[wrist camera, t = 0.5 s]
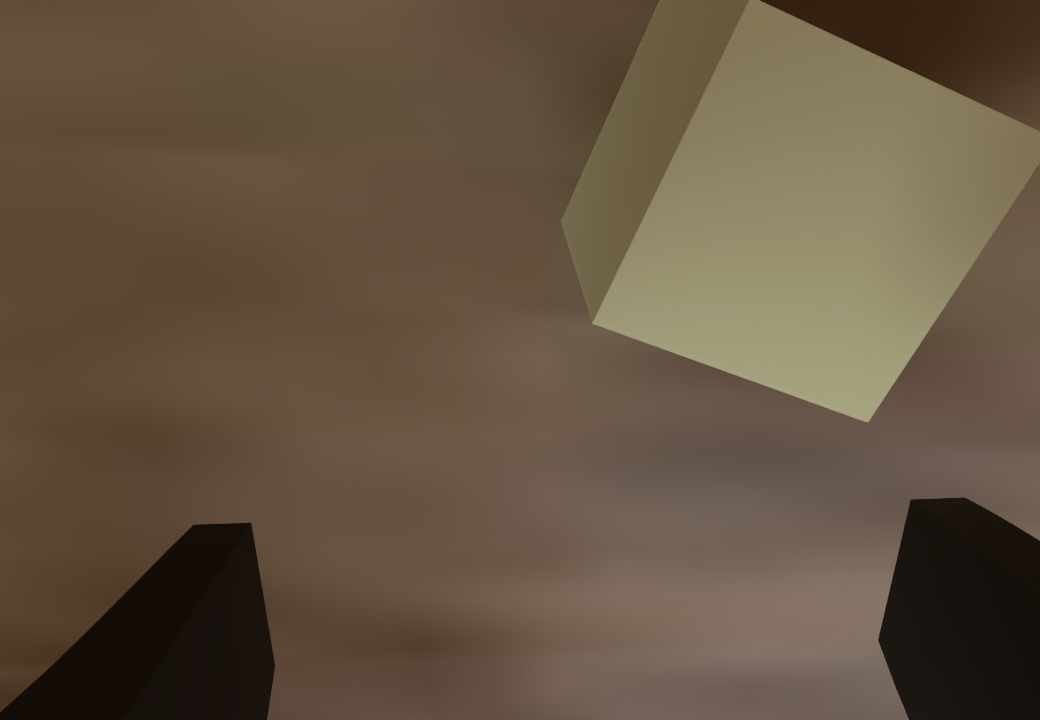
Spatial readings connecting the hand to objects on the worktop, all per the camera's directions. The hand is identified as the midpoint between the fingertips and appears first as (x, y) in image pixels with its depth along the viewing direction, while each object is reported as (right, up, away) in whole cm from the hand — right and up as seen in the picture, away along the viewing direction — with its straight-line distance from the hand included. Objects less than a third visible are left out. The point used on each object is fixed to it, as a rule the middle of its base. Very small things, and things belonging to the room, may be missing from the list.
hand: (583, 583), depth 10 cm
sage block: (+3, +7, +8) cm, 11 cm away
